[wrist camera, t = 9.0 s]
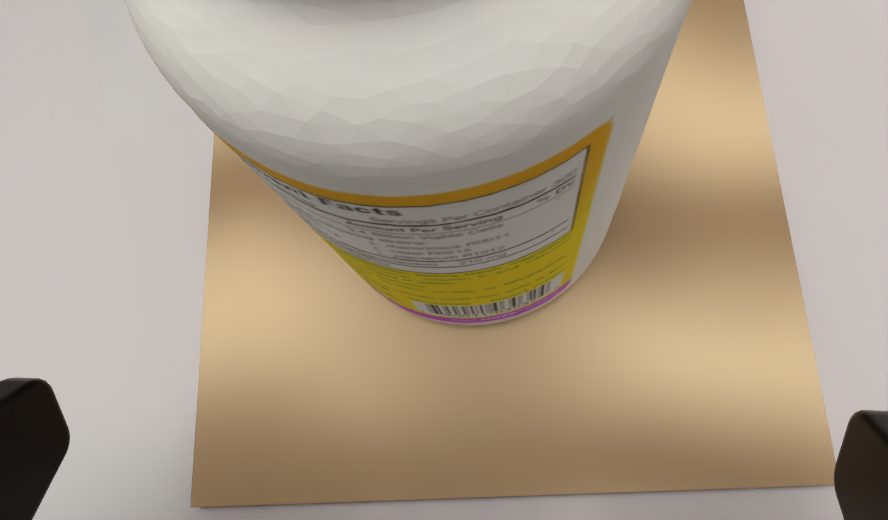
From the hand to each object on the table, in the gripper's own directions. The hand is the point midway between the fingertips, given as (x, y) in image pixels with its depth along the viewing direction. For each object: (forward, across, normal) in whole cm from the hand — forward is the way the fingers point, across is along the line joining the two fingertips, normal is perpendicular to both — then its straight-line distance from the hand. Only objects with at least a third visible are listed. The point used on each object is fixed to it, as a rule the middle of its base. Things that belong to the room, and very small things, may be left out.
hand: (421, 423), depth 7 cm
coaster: (+10, 0, +1) cm, 10 cm away
